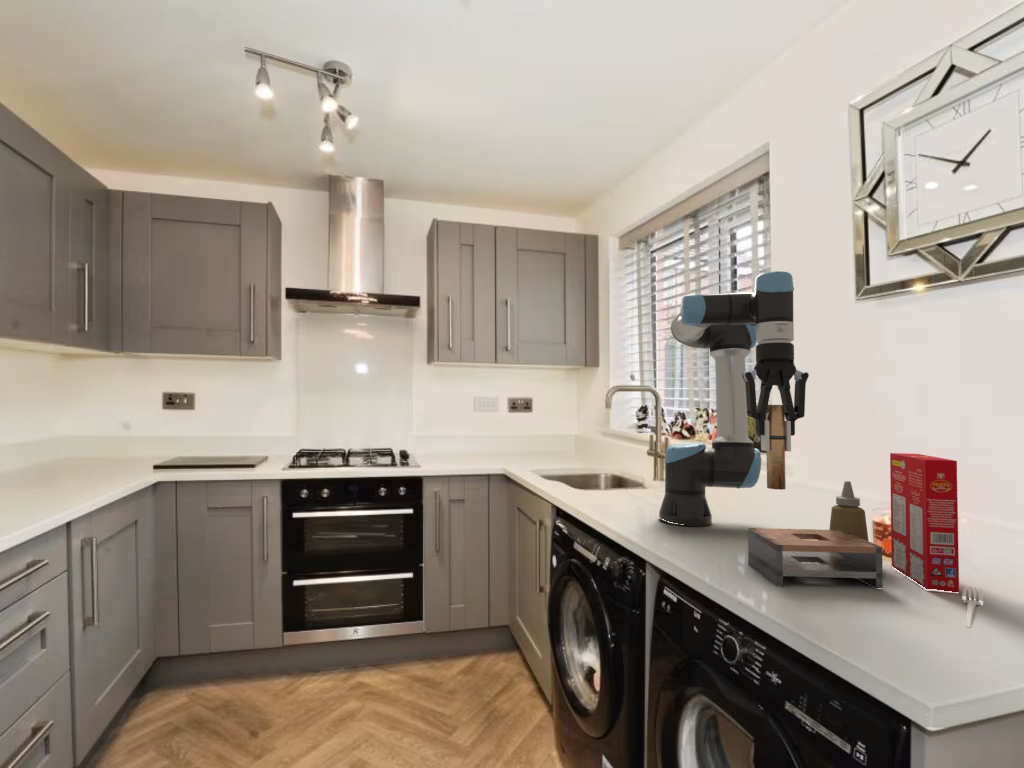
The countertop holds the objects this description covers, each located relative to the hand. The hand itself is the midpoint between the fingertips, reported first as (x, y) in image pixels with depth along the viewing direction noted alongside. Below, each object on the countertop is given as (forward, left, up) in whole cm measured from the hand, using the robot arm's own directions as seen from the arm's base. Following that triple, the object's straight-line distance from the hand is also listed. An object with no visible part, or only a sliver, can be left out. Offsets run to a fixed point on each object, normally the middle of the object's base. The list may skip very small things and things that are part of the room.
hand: (775, 450), depth 116 cm
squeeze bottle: (-7, +19, -26) cm, 33 cm away
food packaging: (+5, +27, -26) cm, 37 cm away
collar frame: (+4, +5, -25) cm, 26 cm away
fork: (+21, +24, -26) cm, 41 cm away
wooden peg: (0, 0, -8) cm, 8 cm away
